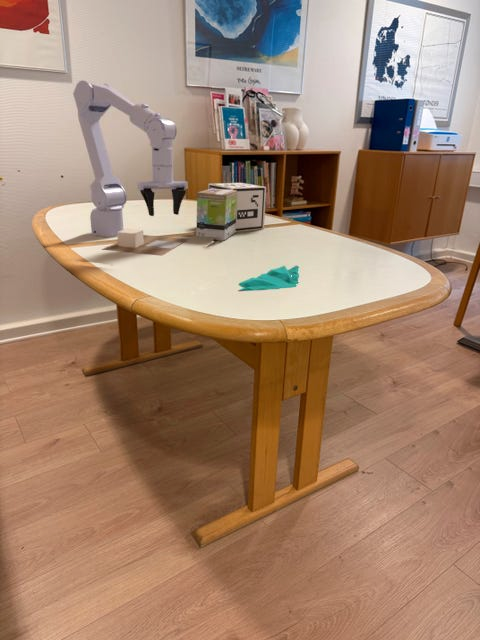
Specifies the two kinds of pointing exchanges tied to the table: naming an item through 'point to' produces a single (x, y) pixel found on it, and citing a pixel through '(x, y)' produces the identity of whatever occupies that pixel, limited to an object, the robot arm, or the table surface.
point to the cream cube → (130, 238)
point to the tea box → (216, 213)
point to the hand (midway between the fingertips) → (163, 214)
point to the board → (151, 245)
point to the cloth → (272, 280)
